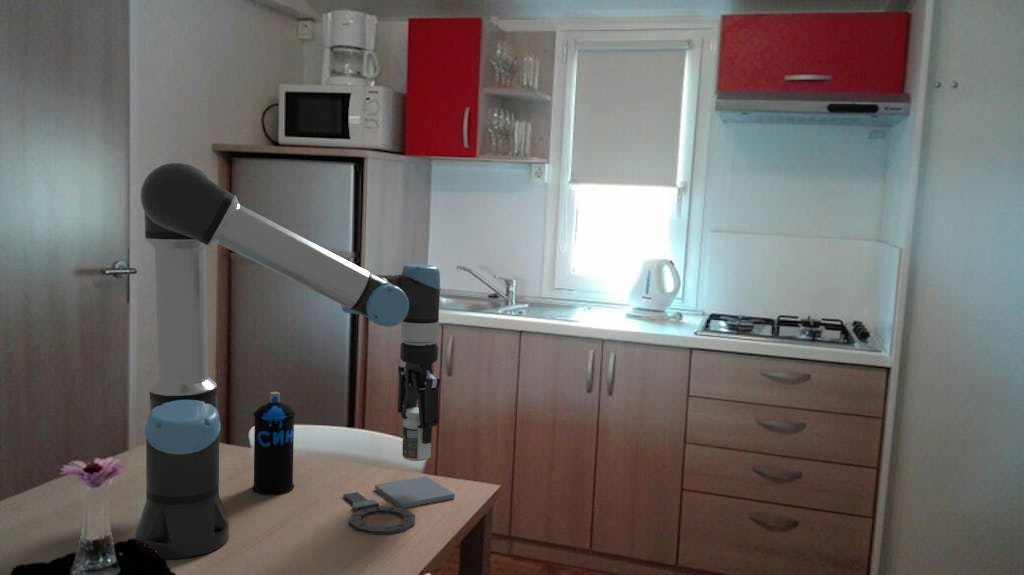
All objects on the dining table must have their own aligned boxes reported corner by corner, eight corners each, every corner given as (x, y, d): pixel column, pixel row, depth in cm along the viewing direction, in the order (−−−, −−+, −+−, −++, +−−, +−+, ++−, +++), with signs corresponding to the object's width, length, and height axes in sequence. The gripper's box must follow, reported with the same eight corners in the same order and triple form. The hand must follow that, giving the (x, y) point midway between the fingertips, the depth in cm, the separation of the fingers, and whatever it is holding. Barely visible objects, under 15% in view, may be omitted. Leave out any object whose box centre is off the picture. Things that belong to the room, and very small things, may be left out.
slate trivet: (401, 508, 166) (401, 503, 166) (375, 489, 176) (375, 484, 176) (454, 498, 173) (454, 493, 173) (426, 480, 183) (426, 476, 183)
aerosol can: (250, 483, 176) (251, 389, 174) (290, 479, 180) (292, 387, 177) (254, 497, 169) (256, 398, 167) (297, 493, 172) (298, 396, 170)
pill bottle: (405, 452, 177) (407, 405, 176) (432, 454, 177) (434, 407, 175) (399, 460, 171) (400, 412, 170) (427, 462, 171) (428, 414, 170)
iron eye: (366, 538, 152) (366, 533, 151) (322, 501, 168) (322, 496, 168) (426, 526, 158) (426, 521, 158) (377, 491, 175) (377, 486, 175)
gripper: (459, 348, 166) (455, 464, 168) (414, 333, 181) (411, 439, 184) (425, 351, 161) (421, 469, 164) (382, 335, 177) (379, 443, 179)
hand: (416, 453), depth 174 cm, fingers closed on pill bottle, 6 cm apart
